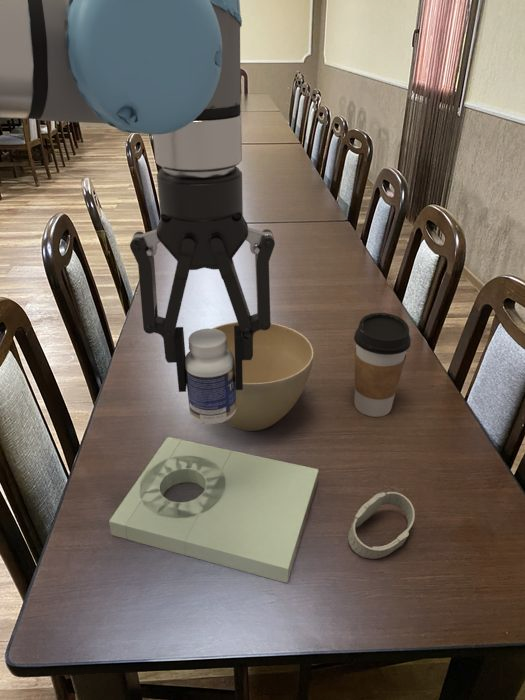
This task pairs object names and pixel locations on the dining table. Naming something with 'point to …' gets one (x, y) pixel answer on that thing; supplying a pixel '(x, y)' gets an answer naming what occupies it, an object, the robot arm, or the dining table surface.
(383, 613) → the dining table surface
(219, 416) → the pill bottle
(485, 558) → the dining table surface
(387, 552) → the wristwatch
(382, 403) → the coffee cup
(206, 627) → the dining table surface
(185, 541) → the pale green flat block
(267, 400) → the tan round bowl
